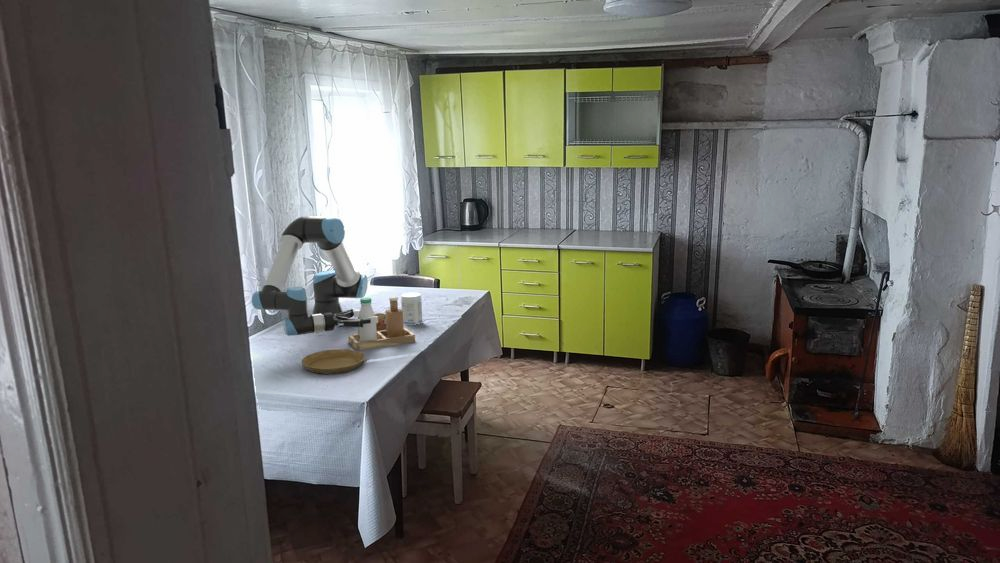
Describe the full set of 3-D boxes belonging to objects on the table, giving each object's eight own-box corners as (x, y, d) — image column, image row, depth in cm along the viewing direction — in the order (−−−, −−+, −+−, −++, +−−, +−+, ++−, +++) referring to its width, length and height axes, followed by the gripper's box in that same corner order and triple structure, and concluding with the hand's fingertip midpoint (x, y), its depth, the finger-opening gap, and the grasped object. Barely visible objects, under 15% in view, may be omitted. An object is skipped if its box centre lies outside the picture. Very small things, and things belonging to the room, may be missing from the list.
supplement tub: (415, 320, 327) (414, 291, 324) (426, 324, 320) (425, 294, 316) (398, 324, 321) (397, 294, 318) (409, 328, 314) (407, 297, 310)
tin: (360, 335, 303) (359, 317, 301) (357, 334, 305) (356, 316, 304) (389, 329, 312) (388, 312, 311) (386, 328, 315) (385, 310, 313)
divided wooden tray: (348, 344, 291) (348, 335, 290) (405, 335, 302) (404, 327, 301) (357, 352, 279) (356, 343, 278) (415, 343, 290) (414, 334, 289)
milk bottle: (380, 342, 289) (378, 297, 285) (368, 347, 282) (366, 301, 278) (367, 340, 293) (364, 295, 288) (355, 344, 286) (352, 299, 282)
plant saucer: (339, 352, 280) (339, 345, 280) (377, 364, 266) (377, 356, 265) (289, 367, 262) (289, 359, 262) (327, 381, 247) (327, 372, 247)
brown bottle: (384, 338, 295) (382, 296, 291) (401, 336, 298) (399, 294, 294) (389, 343, 288) (387, 300, 284) (406, 340, 291) (404, 298, 287)
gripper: (317, 323, 289) (365, 317, 298) (330, 338, 267) (382, 331, 276) (315, 306, 287) (364, 301, 296) (329, 320, 265) (381, 313, 275)
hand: (373, 315), depth 286 cm, fingers open, 13 cm apart
